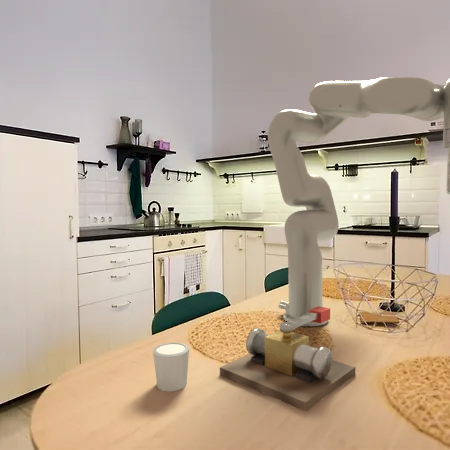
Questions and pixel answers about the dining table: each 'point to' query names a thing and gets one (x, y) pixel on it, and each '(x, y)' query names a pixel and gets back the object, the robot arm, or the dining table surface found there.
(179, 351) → the white cup
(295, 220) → the robot arm
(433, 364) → the dining table surface
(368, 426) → the dining table surface
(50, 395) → the dining table surface
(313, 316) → the valve lever
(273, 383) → the valve board
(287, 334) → the valve pipe
